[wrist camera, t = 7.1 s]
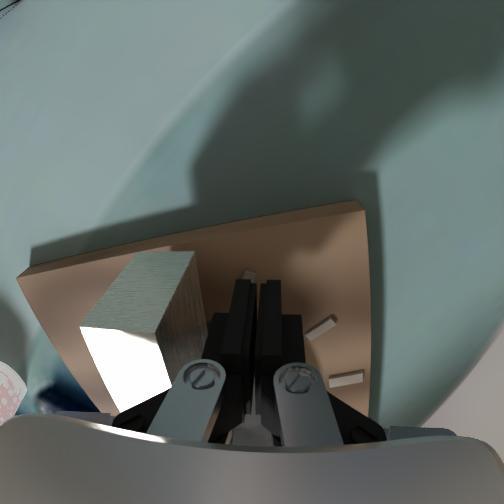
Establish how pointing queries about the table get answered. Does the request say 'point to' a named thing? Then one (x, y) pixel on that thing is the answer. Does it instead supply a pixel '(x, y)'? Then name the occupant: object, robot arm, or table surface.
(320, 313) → the dial plate
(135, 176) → the table surface
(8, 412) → the beverage cup
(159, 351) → the dial
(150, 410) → the robot arm
